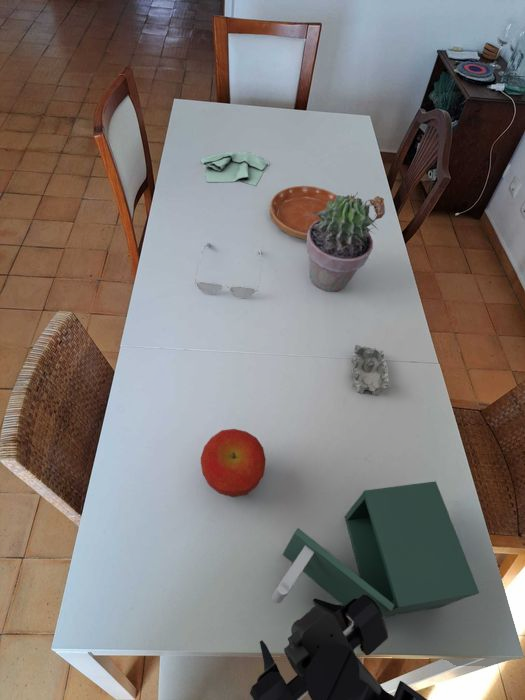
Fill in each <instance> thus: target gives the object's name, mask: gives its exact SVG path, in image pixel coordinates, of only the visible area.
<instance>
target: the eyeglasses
mask: <svg viewBox="0 0 525 700" xmlns="http://www.w3.org/2000/svg"><path fill="white" fill-rule="evenodd" d="M211 245H212V243H210V242H207V243H206V244H205V245H204V246H203V248H202V250H201V251H200V255H199V260H198V262H197V265H196V270H195V271H196V272H195V275H197V273H198V268H199V264H200V260H201V257H202V254H203V252H204V250H205V248H206V247H207V248H210V247H211ZM257 254H259V255H260V264H262V262H263V258H262V251H261V249H257ZM259 271H260V272H259V275H261V272H262V269H260V270H259ZM260 279H261V277H259V279H258V281H260ZM193 284H195V285H196V286H197V288H198V289H199V290H200V292H202V293H203V294H206V295H217V294H219V293H220V292H221V291H222V289H223V288H229V289H230V292H231V295H233V296H234V297H235V298H238V299H250V298H251V297H252V296H254V294H255V293H256V292H259V289H260V286H259V285H260V282H258V284H257V288H254V287H251V286H241V285H232V286H229V285H222V284H221V283H220V284H219V283H217V282H216V283H215V282H210V281H204V280H203V281H202V280H201V281H197V276H194V279H193Z"/></svg>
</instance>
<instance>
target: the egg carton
mask: <svg viewBox="0 0 525 700" xmlns="http://www.w3.org/2000/svg"><path fill="white" fill-rule="evenodd" d="M351 363H352V369H351V375H352V377H353V380H352V382H351V387H352V388H353V389H355V390H356V392H357V393H359V394H363V393H364V391H370V392H371V393H372V395H373V396H378V395H379V394H380V393H382V392H383V391H385V389H387V388H388V386H389V375H388V363H387V360H386V357H385V352H384V350H377V348H371V347H367V346H361V345H358V344H355V346H354V350H353V354H352V356H351Z"/></svg>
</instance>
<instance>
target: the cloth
mask: <svg viewBox="0 0 525 700" xmlns="http://www.w3.org/2000/svg"><path fill="white" fill-rule="evenodd" d="M199 161H200V162H201V164H202V165H203V164H204V165H206V166H207V167H206V168H205V177H206V183H235V182H236V181H238V182H241V183H245V184H247V185H250V186H255V187H256V186H257V185H258V183H259V182H260V179H261V178H262V175H263V173H264V171H265V167H266V166H267V165H268V164H269V161H267V160H266V159H265V158H264V157H263V158H262V157H261V156H259V155H257V154H256V153H252V152H247V151H240V152H239V151H238V152H237V151H236V152H234V151H229V152H223V153H217V154H214V155H209V156H206V157H205V158H202V159H200V160H199Z"/></svg>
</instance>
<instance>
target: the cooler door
mask: <svg viewBox="0 0 525 700" xmlns="http://www.w3.org/2000/svg"><path fill="white" fill-rule="evenodd" d="M282 556H283V557H285V558H286V559H287V560H288V561H290V562H291V563H292V564H291V566H290V567H289V568H288V570H287V572H286V573H285V575H284V576H283V577H282V580H281V581H280V582H279V584H278V585H277V587H276V588H275V589H274V591H273V592H272V595H271V598H272V601H273V602H274V603H275V604H279V603H281V602H283V600H284V599H285V597H286V596H287V595H288V594H289V593H290V591H291V590H292V588H293V587H294V585H295V583H296V582H297V580H298V578H299V577H300V576H301V574H302V573H304V574H305V575H307V576H308V577H309V578H310V579H311V580H313V581H314V582H315V583H316V584H317V585H319V587H321V588H322V589H324V590H325V591H326V592H327V593H328V594H329V595H331V596H332V597H333V598H334V599H336V600H337V601H338V602H339V603H340V604H341V605H343V606H344V605H346V604H347V603H348V602H350V601H351V600H352V599H354V598H356V599H358V598H359V597H361V596H362V595H368V596H369V597H370V598H371V599H373V600H374V601H375V602H376V603H377V605H378V606H379V608H380V610H381V613H382V615H385V614H387V613H389V612H391V611H392V610H393V608H394V606H395V605H394V604H393V603H392V602H390V601H389V600H388V599H387V598H385V597H384V596H383V595H382V594H380V593H379V592H378V591H377V590H375V589H374V588H373V587H371V586H370V585H369V584H368V583H366V582H365V581H364V580H363V579H361V578H360V575H357V573H355V571H353V570H351V569H350V568H349V567H348V566H347V565H345V564H344V563H343V562H341V561H340V560H339V559H338V558H336V557H335V556H334V555H333V554H332V553H330V552H329V551H327V550H326V548H324V547H323V546H321V545H320V544H319V543H318V542H316V541H315V540H314V539H313V538H312V537H311V536H309V535H308V534H306V533H305V532H304V531H303V530H301V529H300V528H299V527H297V528H296V529H295V531H294V533H293V535H292V536H291V538H290V540H289V541H288V544H287V545H286V547H285V549H284V551H283V553H282Z"/></svg>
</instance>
